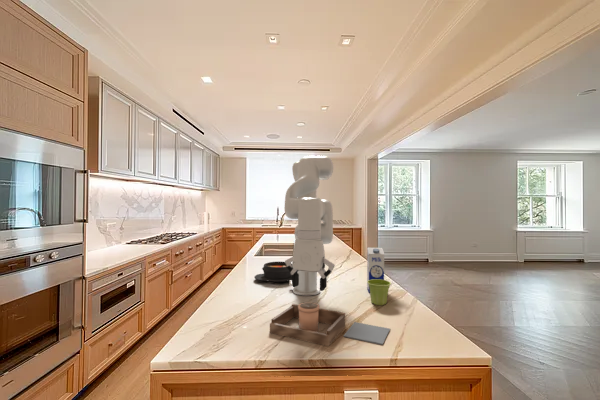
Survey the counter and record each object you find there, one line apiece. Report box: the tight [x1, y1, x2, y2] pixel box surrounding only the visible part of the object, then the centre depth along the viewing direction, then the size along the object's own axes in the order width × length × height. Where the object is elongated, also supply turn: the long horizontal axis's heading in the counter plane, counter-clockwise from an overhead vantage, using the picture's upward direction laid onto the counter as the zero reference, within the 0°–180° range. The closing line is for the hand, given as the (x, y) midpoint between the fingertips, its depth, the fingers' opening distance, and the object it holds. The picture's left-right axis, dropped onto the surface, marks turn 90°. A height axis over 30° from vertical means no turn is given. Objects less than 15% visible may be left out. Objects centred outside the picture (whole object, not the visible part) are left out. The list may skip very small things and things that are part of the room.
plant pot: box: [366, 279, 392, 306], centre depth 129 cm, size 9×9×9 cm
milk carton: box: [366, 247, 385, 294], centre depth 146 cm, size 7×7×20 cm
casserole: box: [254, 261, 292, 284], centre depth 164 cm, size 25×19×8 cm
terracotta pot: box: [297, 301, 320, 332], centre depth 103 cm, size 7×7×8 cm
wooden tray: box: [269, 303, 346, 347], centre depth 103 cm, size 20×16×4 cm
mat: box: [343, 321, 391, 346], centre depth 100 cm, size 12×12×1 cm
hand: (308, 288), depth 102 cm, fingers open, 9 cm apart
